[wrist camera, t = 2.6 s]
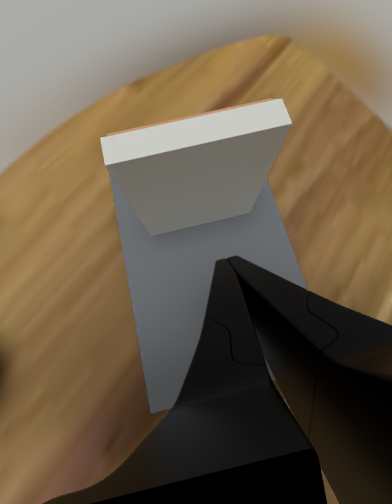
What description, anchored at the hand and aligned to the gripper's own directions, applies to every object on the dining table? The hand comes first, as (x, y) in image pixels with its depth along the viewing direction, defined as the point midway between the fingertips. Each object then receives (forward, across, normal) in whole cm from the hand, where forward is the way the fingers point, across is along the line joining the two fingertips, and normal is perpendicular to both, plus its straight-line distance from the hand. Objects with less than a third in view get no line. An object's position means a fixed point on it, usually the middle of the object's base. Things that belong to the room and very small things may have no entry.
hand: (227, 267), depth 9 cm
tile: (+8, 0, +1) cm, 8 cm away
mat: (+7, 0, +3) cm, 8 cm away
